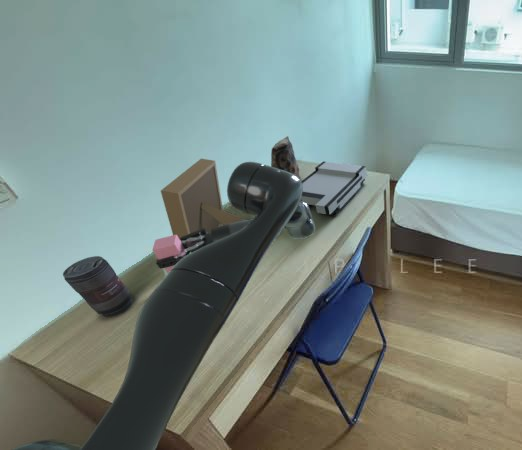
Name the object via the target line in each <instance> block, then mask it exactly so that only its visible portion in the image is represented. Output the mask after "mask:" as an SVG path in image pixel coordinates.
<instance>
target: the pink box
mask: <svg viewBox="0 0 522 450" xmlns="http://www.w3.org/2000/svg"><path fill="white" fill-rule="evenodd" d="M184 250H185V248H184V246H183V245H182V243H181V241H180V239H179V238H178V236H177V234H176V235H173V234H172V235H168V236H164V237H161V238H158V239H155V240H154V244H153V247H152V252H153V254H154V255H155V256H156V258H157V260H159V259H163V258H167V257H170V256H175V255H177V254H180V253H182V252H184ZM184 257H185V256H183V257H181V258H184ZM174 266H175V265H173V266H170V267H166V268H164V269H165V270H166V272H167V273H169V272H170V270H171V269H172V268H173V267H174Z"/></svg>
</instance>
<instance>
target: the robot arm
mask: <svg viewBox="0 0 522 450" xmlns="http://www.w3.org/2000/svg"><path fill="white" fill-rule="evenodd" d="M301 181H302V179H301V178H300V179H299V178H298V177H297V176H295V175H293V174H291V173H289V172H286V171H283V170H280V169H277V168H274V167H271V165H267V164H265V163H261V162H256V161H245V162H242V163H240V164H239V165H237V166H236V167H235V169H234V170H233V171H232V172H231V175H230V176H229V179H228V182H227V186H226V194H227V199H228V201H229V204H231V206H232V207H234V208H235V209H237V210H238V211H239V212H242V213H245V214H248V215H251V216H254V217H255V218H251V219H246V220H245V219H244V221H239V222H235V223H231V224H228V225H222V226H220V227H216V228H213V229H212V230H211V233H210V234H208V233H207V231H206V229H205V228H204V229H201V230H198V231H195V232H193V233H190V234H188V235H185V236H183V237H181V238H180V239H181V240H180V241H181V243H182V245H183V246H184V248H185V250H184V252H182V253H180V254H177V255H175V256H170V257H167V258H163V259H159V260H158V259H157V260H156V262H155V264H156V265H157V267H158V269H162V268H166V267H170V266H173V265H175V266H174V267H173V268H172V269H171V270H170V272H169V273H168V274H167V275H166V276H165V275H164V277H163V278H162V280H161V281H160V282H159V284H158V285H157V286H156V287H155V288H154V290H153V291H152V292H151V293H150V294H149V296H148V298H147V299H146V300H145V302H144V304H143V305H142V307H141V308H140V311H139V313H138V316H137V319H136V322H135V327H134V332H133V336H132V343H131V350H130V355H129V361H128V364H127V369H126V373H125V376H124V378H123V382H122V383H121V386H120V388H119V389H118V392H117V394H116V395H115V397H114V399H113V400H112V402H111V404H110V406H109V407H108V408H107V410H106V412H105V413H104V415H103V417H101V419H100V420H99V422H98V424H97V425H96V426H95V428H94V429H93V431H92V432H91V433H90V434H89V436H88V438H87V439H86V440H85V441H84V443H83V444H82V445H80V444H76V443H74V442H70V441H67V440H62V439H41V440H37V441H32V442H29V443H25V444H22V445H19V446H17V447H15V448H12V449H11V450H156V449H157V447H158V444H159V442H160V440H161V439H162V436H163V434H164V432H165V430H166V429H167V426H168V424H169V422H170V420H171V419H172V416H173V414H174V412H175V410H176V408H177V407H178V404H179V402H180V400H181V399H182V397H183V395H184V393H185V391H186V390H187V387H189V384H190V382H191V380H192V379H193V377H194V375H195V373H196V372H197V370H198V368H199V367H200V365H201V363H202V361H203V360H204V358H205V356H206V354H207V353H208V351H209V349H210V348H211V346H212V344H213V343H214V341H215V340H216V338H217V337H218V335H219V334H220V332H221V330H222V329H223V327H224V326H225V324H226V322H227V321H228V319H229V318H230V315H232V312H233V310H234V309H235V307H236V306H237V304H238V303H239V300H240V299H241V297H242V295H243V293H244V292H245V289H246V288H247V286H248V284H249V282H250V280H251V279H252V277H253V275H254V274H255V272H256V270H257V268H258V266H259V265H260V263H261V261H262V260H263V259H264V256H266V254H267V252H268V251H269V249H270V248H271V246H272V245H273V244H274V242H275V241H276V240H278V239H279V238H280V234H281V232H282V231H283V230H284V229H285V231H286V232H287V233H288V235H289V236H290V237H291V238H292V239H295V240H304V239H307V238H309V237H311V236H313V234H314V232H315V231H316V225H315V221H314V218H313V215H312V212H311V209H310V207H309V206H308V204H307V203H306V202H304V201H300V200H301V196H302V192H303V185H302V182H301ZM190 237H193V238H190ZM190 252H191V253H190ZM183 256H185V257H184V258H181V257H183ZM162 270H163V269H162Z"/></svg>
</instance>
